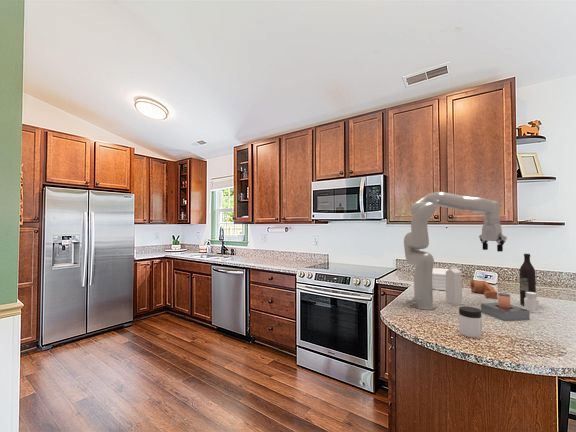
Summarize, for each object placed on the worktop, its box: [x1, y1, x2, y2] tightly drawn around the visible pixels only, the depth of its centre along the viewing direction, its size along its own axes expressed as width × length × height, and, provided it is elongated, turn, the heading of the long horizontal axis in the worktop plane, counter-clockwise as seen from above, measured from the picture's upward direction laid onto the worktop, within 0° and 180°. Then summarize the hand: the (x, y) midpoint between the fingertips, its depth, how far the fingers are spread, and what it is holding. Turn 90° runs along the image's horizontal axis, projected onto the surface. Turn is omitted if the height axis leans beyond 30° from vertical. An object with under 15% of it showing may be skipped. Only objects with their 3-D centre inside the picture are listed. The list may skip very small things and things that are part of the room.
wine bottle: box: [519, 253, 537, 306], centre depth 164 cm, size 7×7×30 cm
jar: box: [458, 305, 483, 339], centre depth 120 cm, size 9×8×12 cm
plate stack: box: [432, 267, 462, 291], centre depth 214 cm, size 28×28×12 cm
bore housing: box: [480, 302, 531, 322], centre depth 145 cm, size 14×14×5 cm
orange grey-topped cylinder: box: [497, 292, 511, 309], centre depth 145 cm, size 5×5×11 cm
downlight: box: [523, 292, 541, 314], centre depth 153 cm, size 8×7×10 cm
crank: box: [469, 279, 498, 300], centre depth 190 cm, size 20×8×8 cm, turn 168°
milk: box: [445, 265, 463, 305], centre depth 170 cm, size 6×6×22 cm
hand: (492, 250), depth 167 cm, fingers open, 9 cm apart
